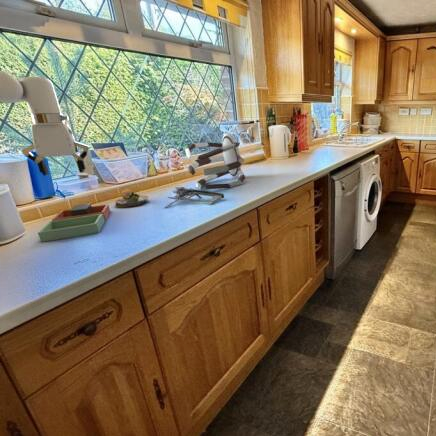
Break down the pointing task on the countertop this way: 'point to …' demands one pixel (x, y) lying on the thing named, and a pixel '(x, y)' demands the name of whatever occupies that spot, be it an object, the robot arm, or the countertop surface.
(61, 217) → the far bin
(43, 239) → the near bin
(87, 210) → the packet
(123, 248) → the countertop surface
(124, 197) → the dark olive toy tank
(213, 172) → the jointed toy figure
